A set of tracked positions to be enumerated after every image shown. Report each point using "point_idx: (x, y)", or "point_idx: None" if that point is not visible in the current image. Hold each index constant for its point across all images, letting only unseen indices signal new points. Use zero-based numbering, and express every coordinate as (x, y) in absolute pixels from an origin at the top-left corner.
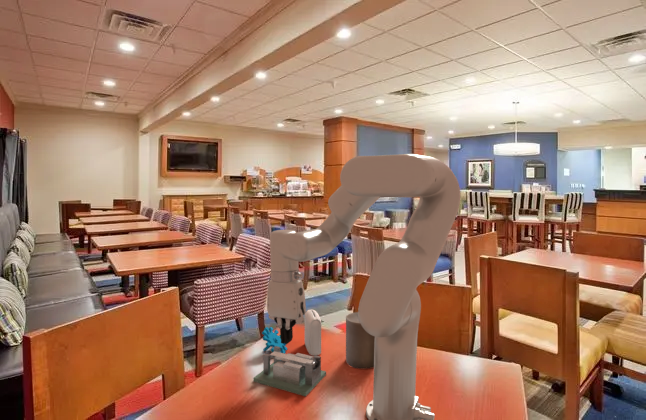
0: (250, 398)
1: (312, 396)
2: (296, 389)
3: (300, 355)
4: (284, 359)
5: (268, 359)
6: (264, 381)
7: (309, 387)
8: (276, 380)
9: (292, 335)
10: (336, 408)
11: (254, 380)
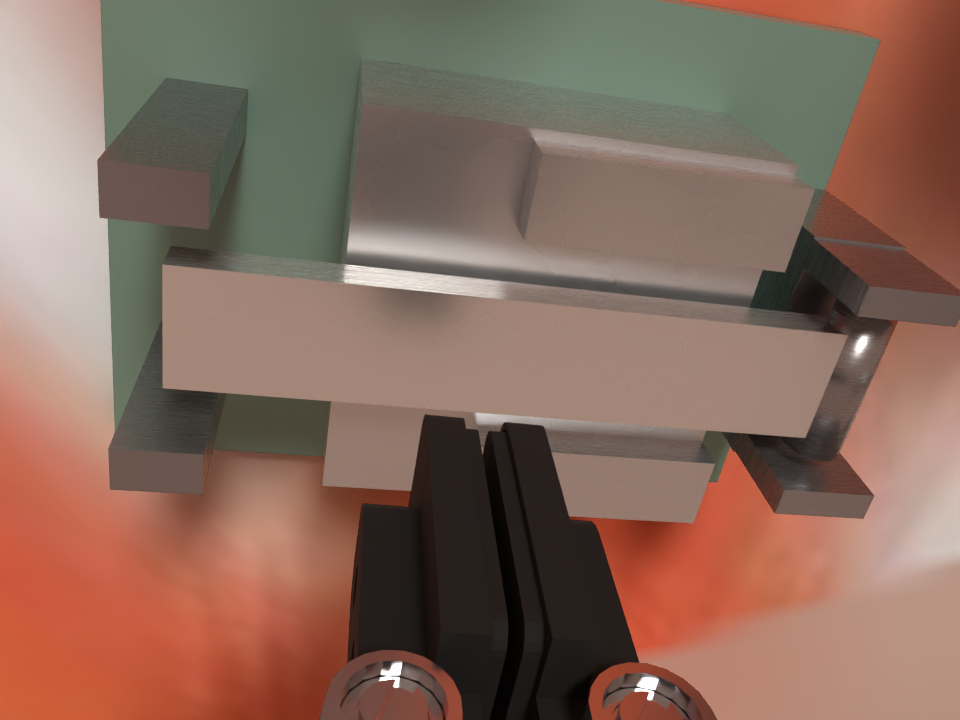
0: (273, 619)
1: None
2: None
3: (617, 220)
4: (429, 399)
5: (210, 455)
6: (263, 449)
7: None
8: None
9: (603, 559)
10: (957, 507)
11: None
